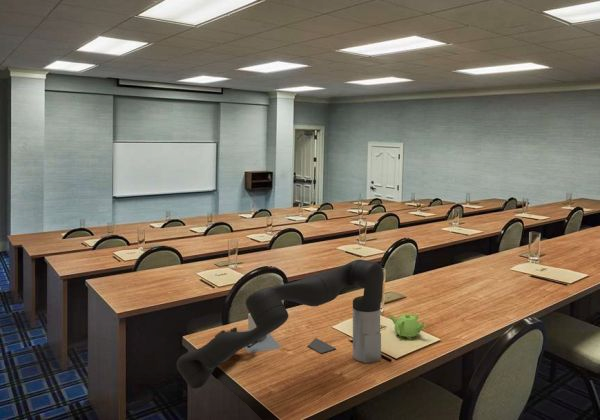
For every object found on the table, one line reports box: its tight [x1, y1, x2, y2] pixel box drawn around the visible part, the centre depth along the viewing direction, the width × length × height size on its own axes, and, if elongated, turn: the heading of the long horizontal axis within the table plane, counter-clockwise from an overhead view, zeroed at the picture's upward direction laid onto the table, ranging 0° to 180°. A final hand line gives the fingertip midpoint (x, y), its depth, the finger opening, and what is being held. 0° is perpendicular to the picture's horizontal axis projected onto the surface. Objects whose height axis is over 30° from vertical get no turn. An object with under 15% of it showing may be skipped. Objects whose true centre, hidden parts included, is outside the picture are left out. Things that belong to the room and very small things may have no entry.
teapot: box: [389, 313, 427, 340], centre depth 179 cm, size 11×12×8 cm
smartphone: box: [307, 337, 337, 355], centre depth 172 cm, size 7×1×15 cm
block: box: [247, 312, 267, 342], centre depth 177 cm, size 5×5×10 cm
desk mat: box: [237, 329, 282, 354], centre depth 177 cm, size 22×12×1 cm, turn 20°
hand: (246, 331), depth 170 cm, fingers open, 8 cm apart
